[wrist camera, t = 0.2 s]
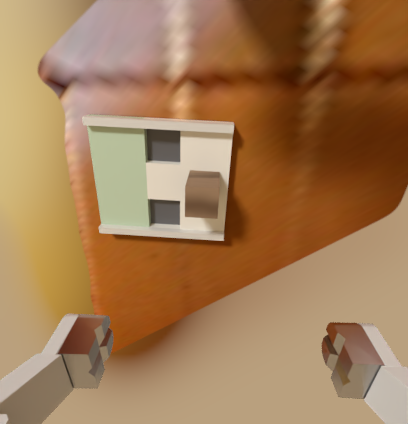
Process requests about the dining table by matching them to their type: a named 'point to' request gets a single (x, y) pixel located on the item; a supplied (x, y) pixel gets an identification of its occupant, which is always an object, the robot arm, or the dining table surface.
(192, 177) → the walnut block
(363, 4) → the dining table surface
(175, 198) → the board
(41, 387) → the robot arm
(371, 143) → the dining table surface
